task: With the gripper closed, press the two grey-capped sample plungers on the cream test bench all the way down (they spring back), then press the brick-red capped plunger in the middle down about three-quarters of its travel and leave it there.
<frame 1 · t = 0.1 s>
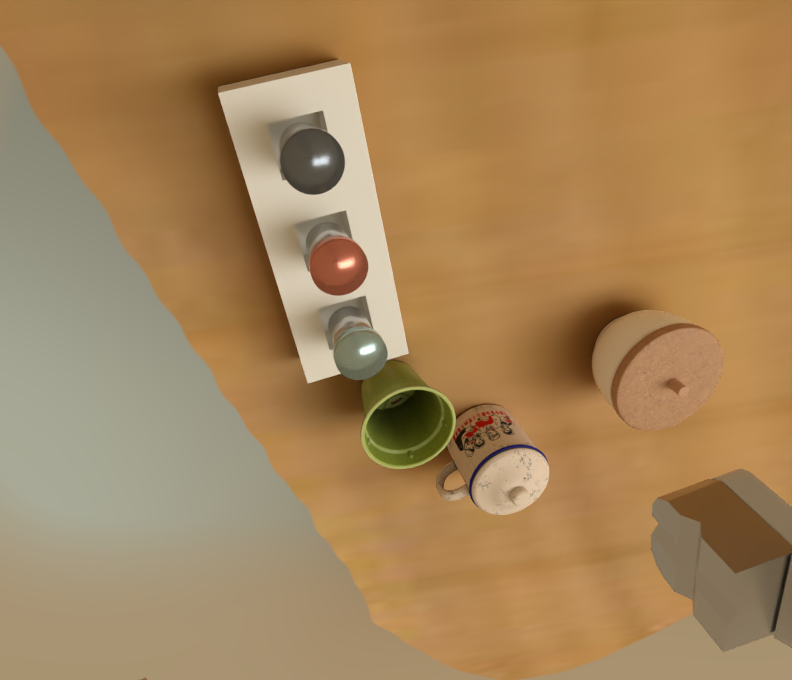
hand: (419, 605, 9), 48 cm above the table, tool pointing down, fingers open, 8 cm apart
test bench: (318, 224, 55), on the table
lidded bowl: (620, 341, 71), on the table
brick-red plug: (333, 255, 48), point 8 cm above the table, slide at 0.0 cm
plant pot: (387, 382, 65), on the table
printed white mug: (468, 438, 72), on the table
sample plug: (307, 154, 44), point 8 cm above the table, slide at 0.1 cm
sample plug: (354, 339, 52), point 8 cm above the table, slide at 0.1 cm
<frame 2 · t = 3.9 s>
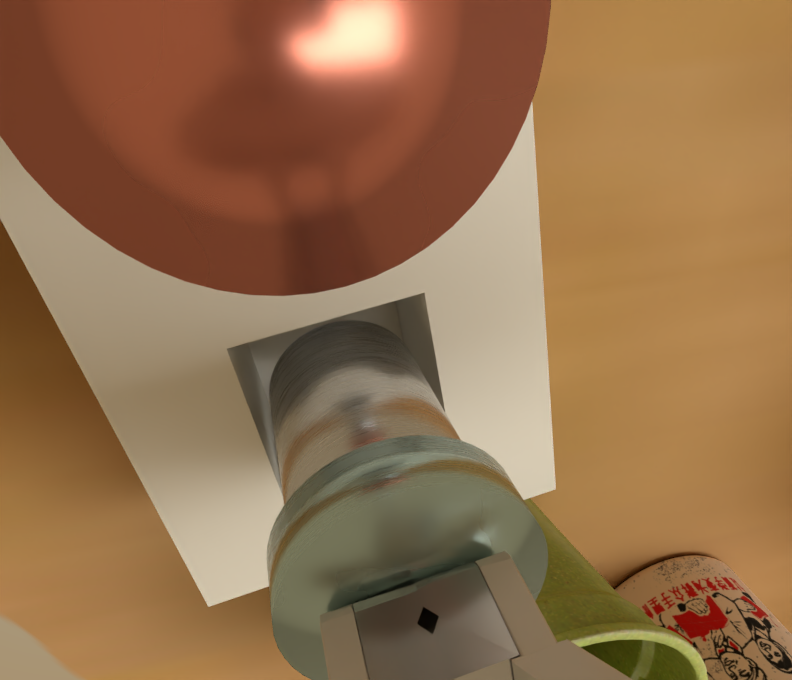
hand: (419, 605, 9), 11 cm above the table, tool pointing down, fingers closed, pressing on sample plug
test bench: (237, 18, 14), on the table
brick-red plug: (257, 21, 7), point 8 cm above the table, slide at 0.0 cm
plant pot: (455, 524, 25), on the table
printed white mug: (628, 622, 31), on the table
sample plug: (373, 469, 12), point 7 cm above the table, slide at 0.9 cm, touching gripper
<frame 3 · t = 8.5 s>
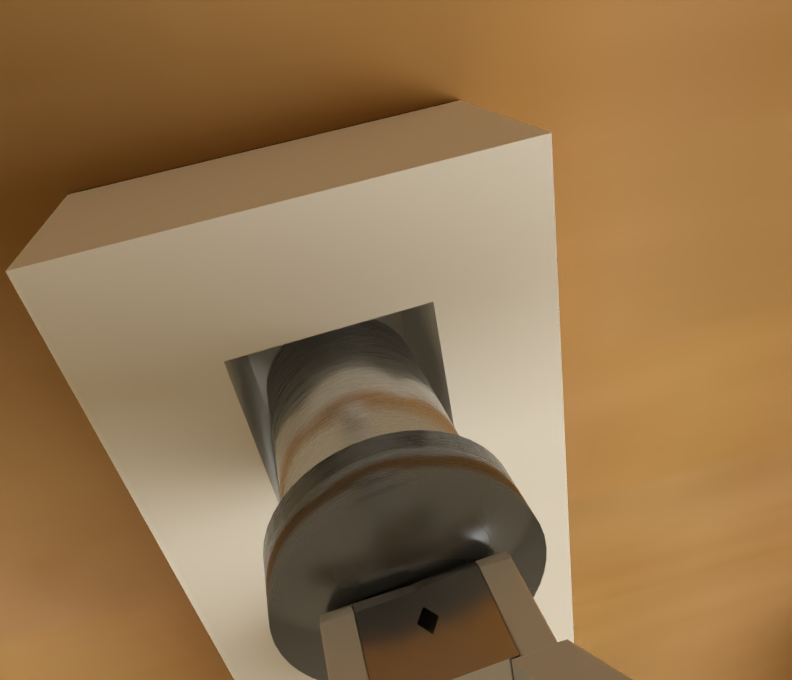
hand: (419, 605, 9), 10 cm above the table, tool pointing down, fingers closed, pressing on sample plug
test bench: (374, 510, 22), on the table
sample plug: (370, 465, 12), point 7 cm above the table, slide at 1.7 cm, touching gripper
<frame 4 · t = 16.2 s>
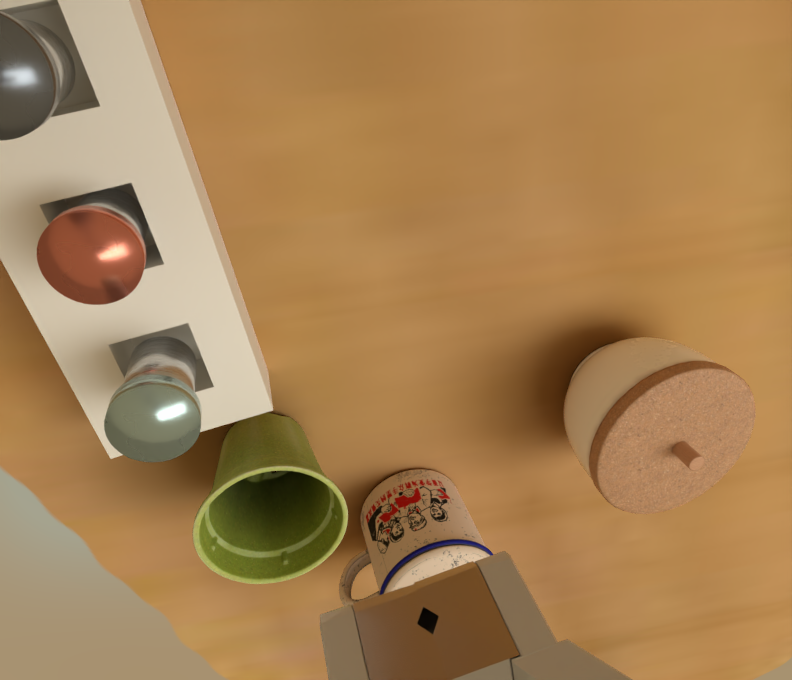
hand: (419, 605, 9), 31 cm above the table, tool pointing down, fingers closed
test bench: (118, 209, 35), on the table
lidded bowl: (606, 379, 51), on the table
brick-red plug: (102, 239, 30), point 6 cm above the table, slide at 2.9 cm
plant pot: (264, 442, 45), on the table
printed white mug: (393, 513, 51), on the table
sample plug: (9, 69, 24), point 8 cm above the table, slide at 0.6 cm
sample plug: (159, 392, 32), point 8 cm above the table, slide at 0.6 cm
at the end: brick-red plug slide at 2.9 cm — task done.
